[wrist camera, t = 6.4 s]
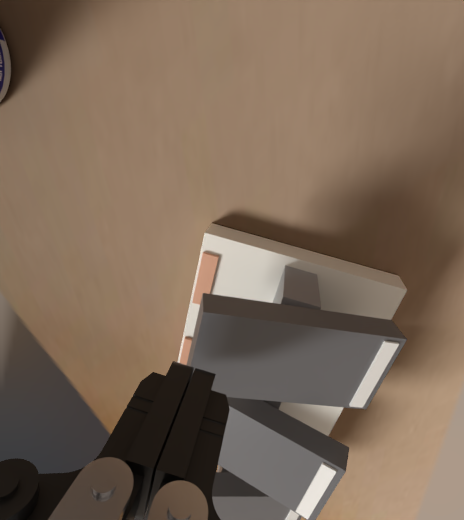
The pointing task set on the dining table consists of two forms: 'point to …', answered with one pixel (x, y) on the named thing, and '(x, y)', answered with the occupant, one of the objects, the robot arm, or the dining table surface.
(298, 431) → the middle rocker
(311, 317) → the near rocker
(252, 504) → the far rocker
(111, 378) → the dining table surface
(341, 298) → the switch panel
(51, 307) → the dining table surface
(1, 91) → the energy drink
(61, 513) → the robot arm
